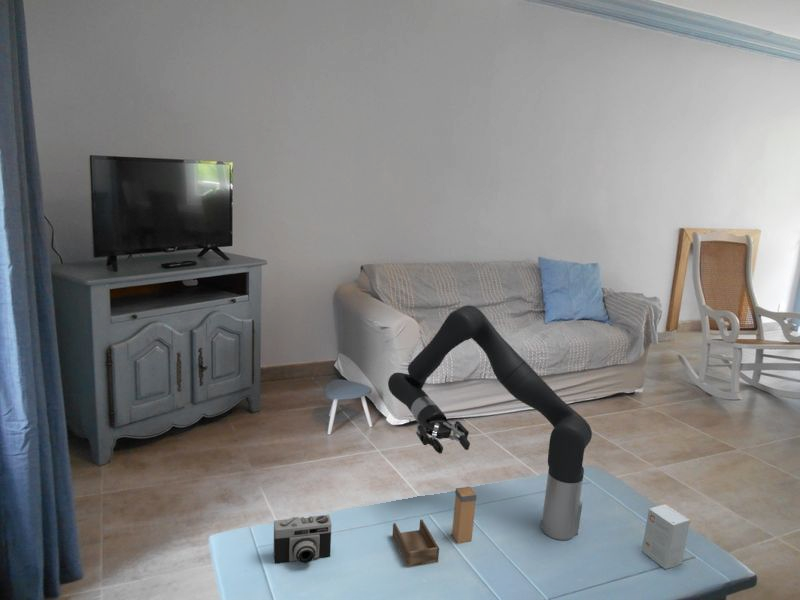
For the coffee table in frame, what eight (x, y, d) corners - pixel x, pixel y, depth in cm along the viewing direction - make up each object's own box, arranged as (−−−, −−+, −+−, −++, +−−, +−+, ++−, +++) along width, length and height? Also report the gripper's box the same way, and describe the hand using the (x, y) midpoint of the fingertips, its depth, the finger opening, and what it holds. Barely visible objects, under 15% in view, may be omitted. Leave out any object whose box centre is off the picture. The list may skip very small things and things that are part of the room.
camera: (275, 574, 145) (275, 538, 142) (272, 552, 152) (273, 517, 150) (333, 567, 149) (334, 531, 146) (328, 546, 156) (329, 512, 154)
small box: (682, 564, 158) (691, 520, 155) (665, 570, 155) (673, 525, 152) (657, 545, 165) (665, 503, 162) (640, 551, 162) (648, 508, 159)
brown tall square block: (465, 532, 165) (470, 486, 162) (471, 541, 162) (476, 494, 158) (451, 534, 164) (455, 488, 161) (457, 543, 160) (462, 496, 157)
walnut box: (421, 532, 164) (422, 519, 163) (438, 562, 153) (439, 548, 152) (392, 536, 162) (393, 523, 161) (407, 567, 150) (408, 553, 149)
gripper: (409, 406, 173) (435, 440, 160) (451, 402, 179) (480, 435, 166) (404, 427, 176) (429, 463, 163) (446, 423, 182) (473, 457, 169)
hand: (455, 449), depth 165 cm, fingers open, 8 cm apart
